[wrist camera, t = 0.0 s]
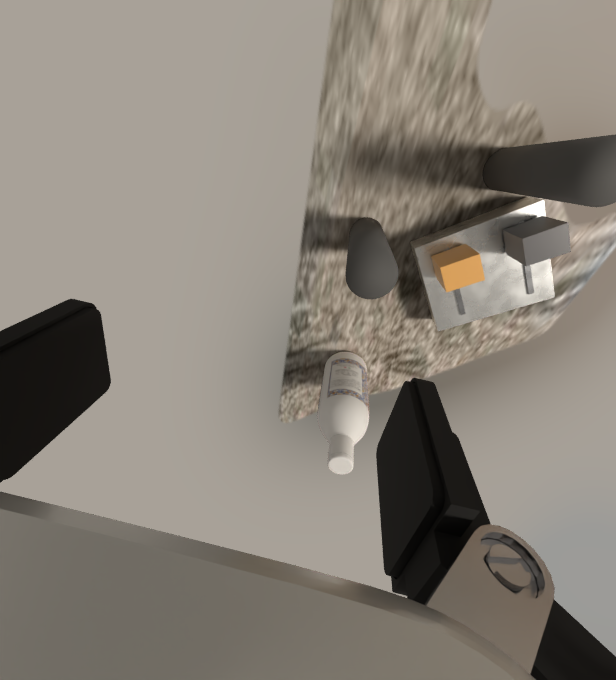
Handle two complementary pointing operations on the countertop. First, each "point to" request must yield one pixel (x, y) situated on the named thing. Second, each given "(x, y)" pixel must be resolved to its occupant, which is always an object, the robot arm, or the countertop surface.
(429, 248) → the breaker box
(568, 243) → the grey small block
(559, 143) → the post
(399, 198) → the countertop surface
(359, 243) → the post
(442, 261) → the tab orange
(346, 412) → the bath foam
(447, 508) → the robot arm
